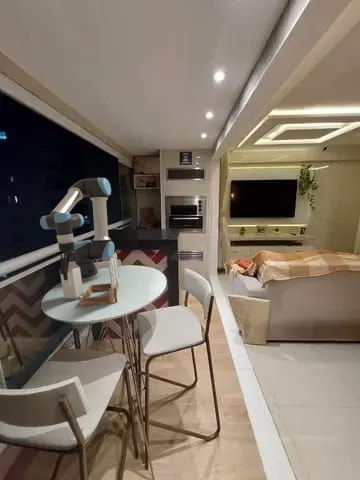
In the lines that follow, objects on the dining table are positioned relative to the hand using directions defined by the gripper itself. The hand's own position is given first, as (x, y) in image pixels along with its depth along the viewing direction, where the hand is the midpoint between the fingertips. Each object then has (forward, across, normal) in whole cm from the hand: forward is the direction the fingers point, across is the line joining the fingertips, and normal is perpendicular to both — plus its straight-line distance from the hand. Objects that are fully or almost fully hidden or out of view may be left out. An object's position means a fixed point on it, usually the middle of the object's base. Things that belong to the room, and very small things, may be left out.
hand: (71, 281), depth 137 cm
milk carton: (+8, 0, 0) cm, 8 cm away
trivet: (+9, 0, 0) cm, 9 cm away
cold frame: (+9, +3, +15) cm, 18 cm away
